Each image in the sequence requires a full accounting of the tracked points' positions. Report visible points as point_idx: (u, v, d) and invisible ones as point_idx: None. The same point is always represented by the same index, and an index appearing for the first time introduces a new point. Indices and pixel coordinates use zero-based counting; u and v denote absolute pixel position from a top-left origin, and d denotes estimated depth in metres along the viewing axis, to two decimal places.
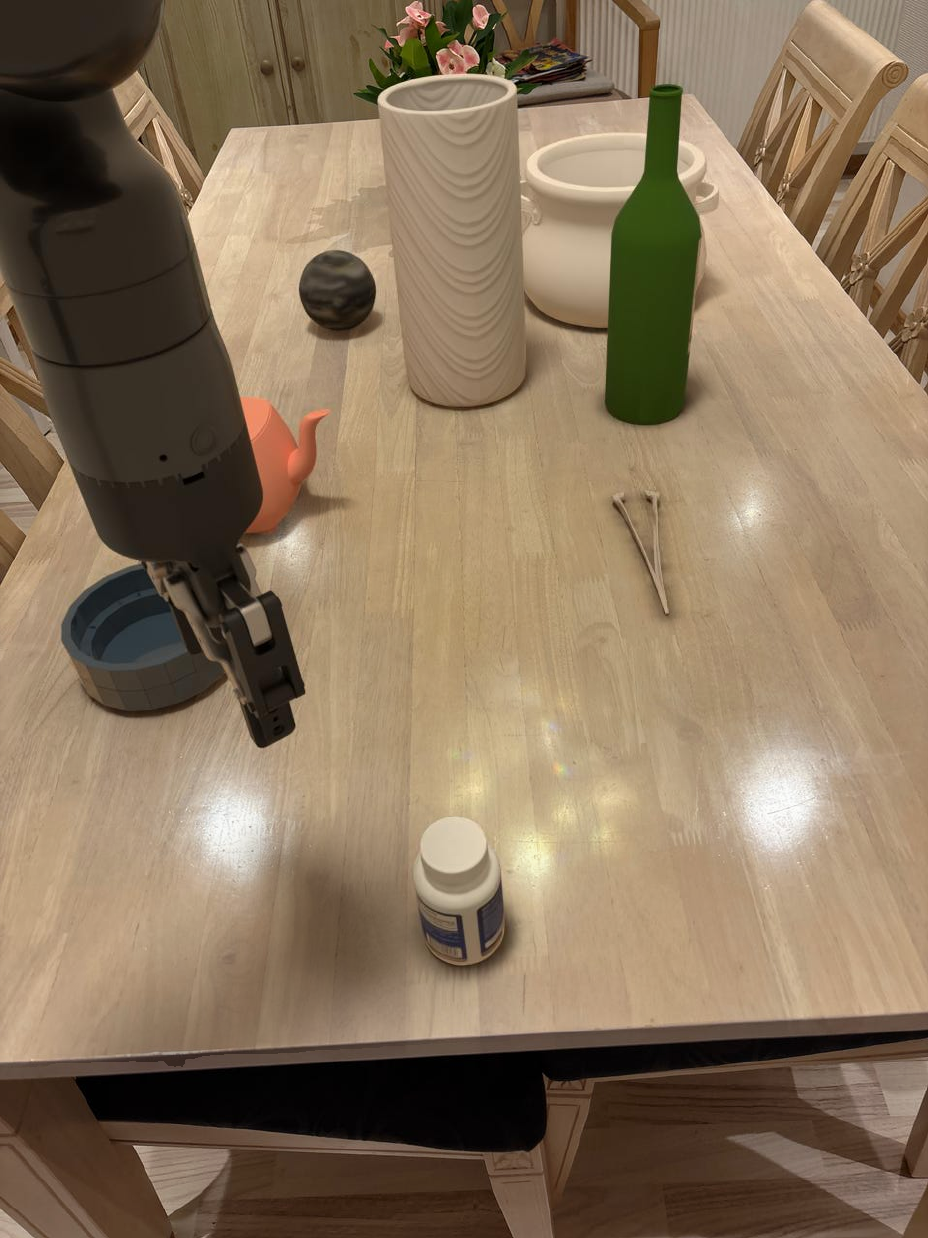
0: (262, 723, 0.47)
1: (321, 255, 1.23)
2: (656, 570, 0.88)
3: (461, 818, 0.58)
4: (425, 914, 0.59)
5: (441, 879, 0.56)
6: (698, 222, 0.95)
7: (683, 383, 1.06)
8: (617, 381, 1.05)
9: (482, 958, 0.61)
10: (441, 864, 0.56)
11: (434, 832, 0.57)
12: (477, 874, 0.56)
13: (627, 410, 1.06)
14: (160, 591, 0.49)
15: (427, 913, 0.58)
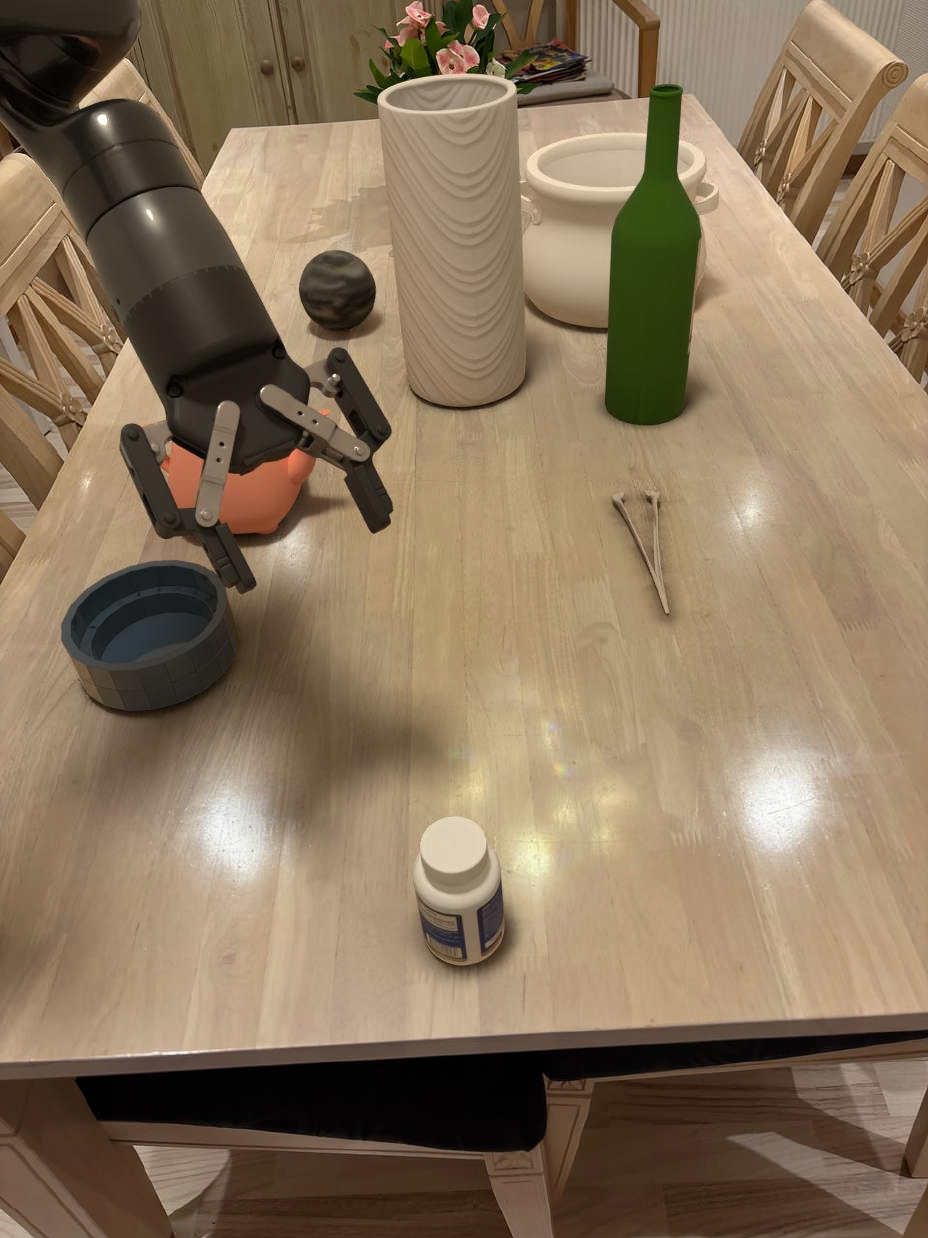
0: (381, 482, 0.56)
1: (321, 255, 1.23)
2: (656, 570, 0.88)
3: (461, 818, 0.58)
4: (425, 914, 0.59)
5: (441, 879, 0.56)
6: (698, 222, 0.95)
7: (683, 383, 1.06)
8: (617, 381, 1.05)
9: (482, 958, 0.61)
10: (441, 864, 0.56)
11: (434, 832, 0.57)
12: (477, 874, 0.56)
13: (627, 410, 1.06)
14: None
15: (427, 913, 0.58)
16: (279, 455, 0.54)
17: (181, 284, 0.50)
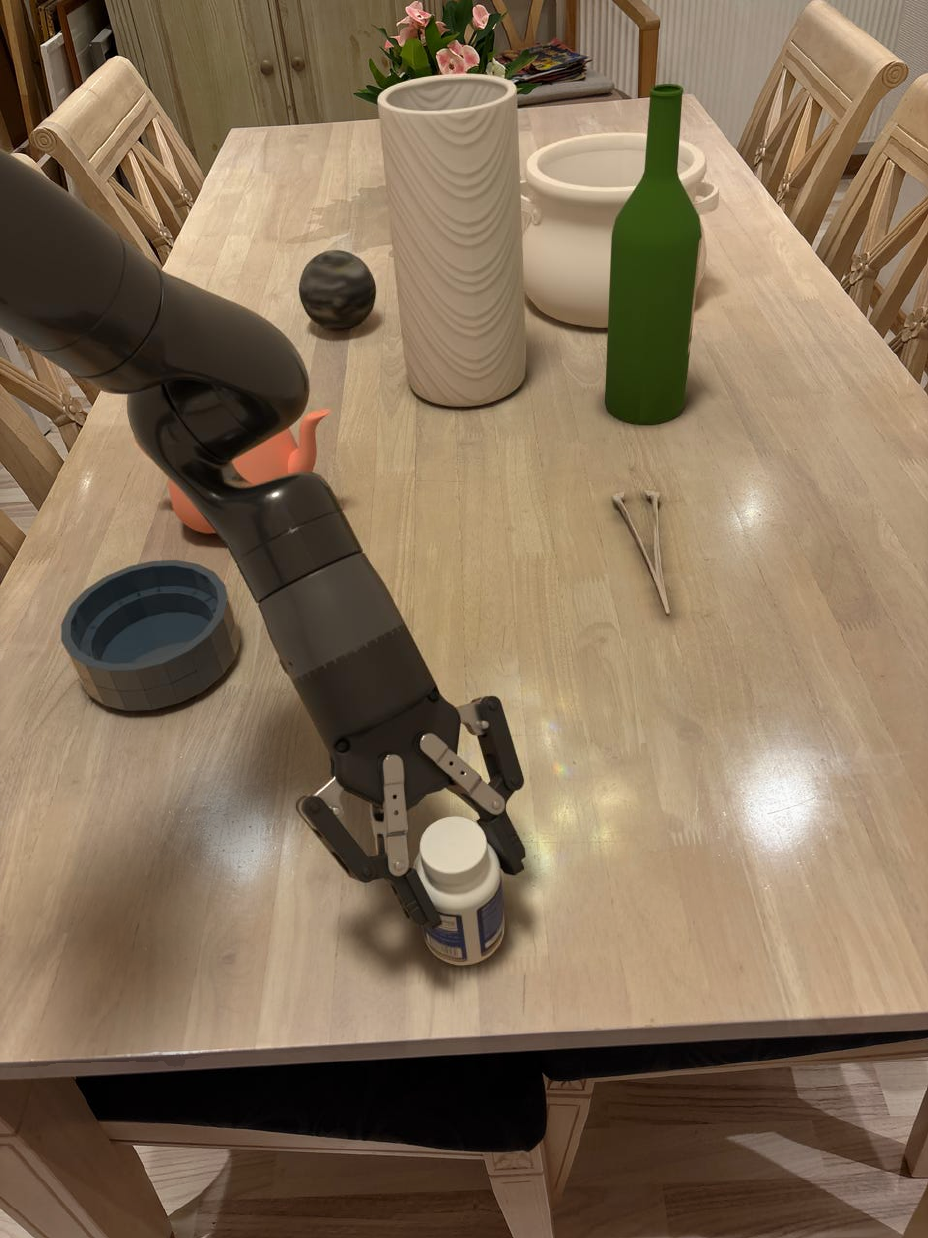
0: (514, 829, 0.59)
1: (321, 255, 1.23)
2: (657, 570, 0.88)
3: (461, 818, 0.58)
4: None
5: (441, 879, 0.56)
6: (698, 222, 0.95)
7: (684, 383, 1.06)
8: (617, 381, 1.05)
9: (482, 958, 0.61)
10: (440, 865, 0.56)
11: (434, 832, 0.57)
12: (477, 874, 0.56)
13: (627, 410, 1.06)
14: (407, 824, 0.56)
15: None
16: None
17: (354, 657, 0.54)
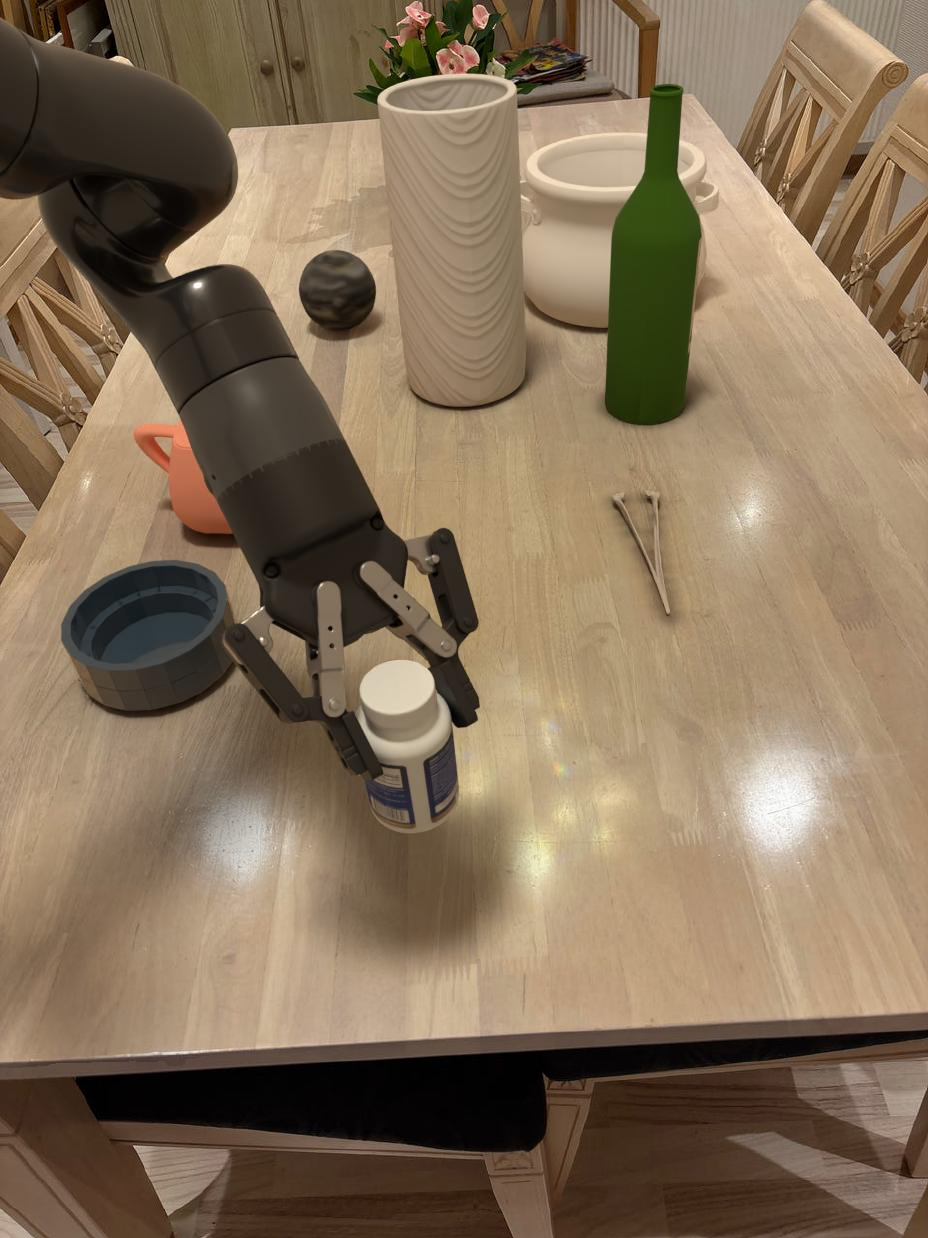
0: (467, 676, 0.53)
1: (321, 255, 1.23)
2: (657, 570, 0.88)
3: (407, 661, 0.52)
4: None
5: (382, 722, 0.50)
6: (698, 222, 0.95)
7: (684, 383, 1.06)
8: (617, 381, 1.05)
9: (433, 825, 0.55)
10: (381, 706, 0.50)
11: (376, 675, 0.51)
12: (423, 718, 0.50)
13: (627, 410, 1.06)
14: (343, 659, 0.50)
15: None
16: (376, 630, 0.52)
17: (283, 465, 0.48)
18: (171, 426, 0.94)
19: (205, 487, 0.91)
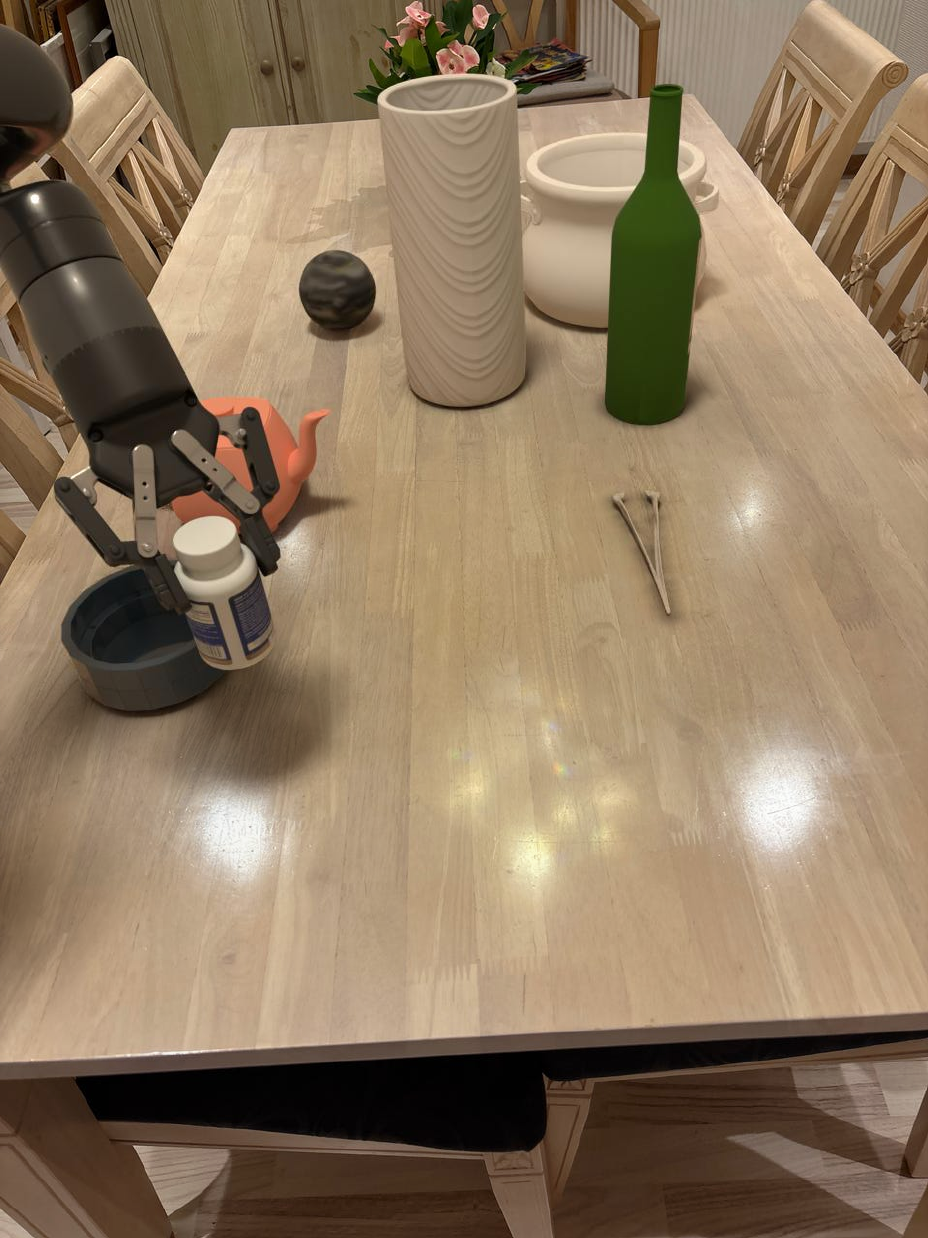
0: (270, 531, 0.63)
1: (321, 255, 1.23)
2: (657, 570, 0.88)
3: (217, 517, 0.62)
4: None
5: (189, 563, 0.60)
6: (698, 222, 0.95)
7: (684, 383, 1.06)
8: (617, 381, 1.05)
9: (248, 662, 0.65)
10: (188, 549, 0.60)
11: (189, 527, 0.61)
12: (224, 560, 0.60)
13: (627, 410, 1.06)
14: None
15: None
16: (191, 491, 0.62)
17: (99, 344, 0.58)
18: None
19: None
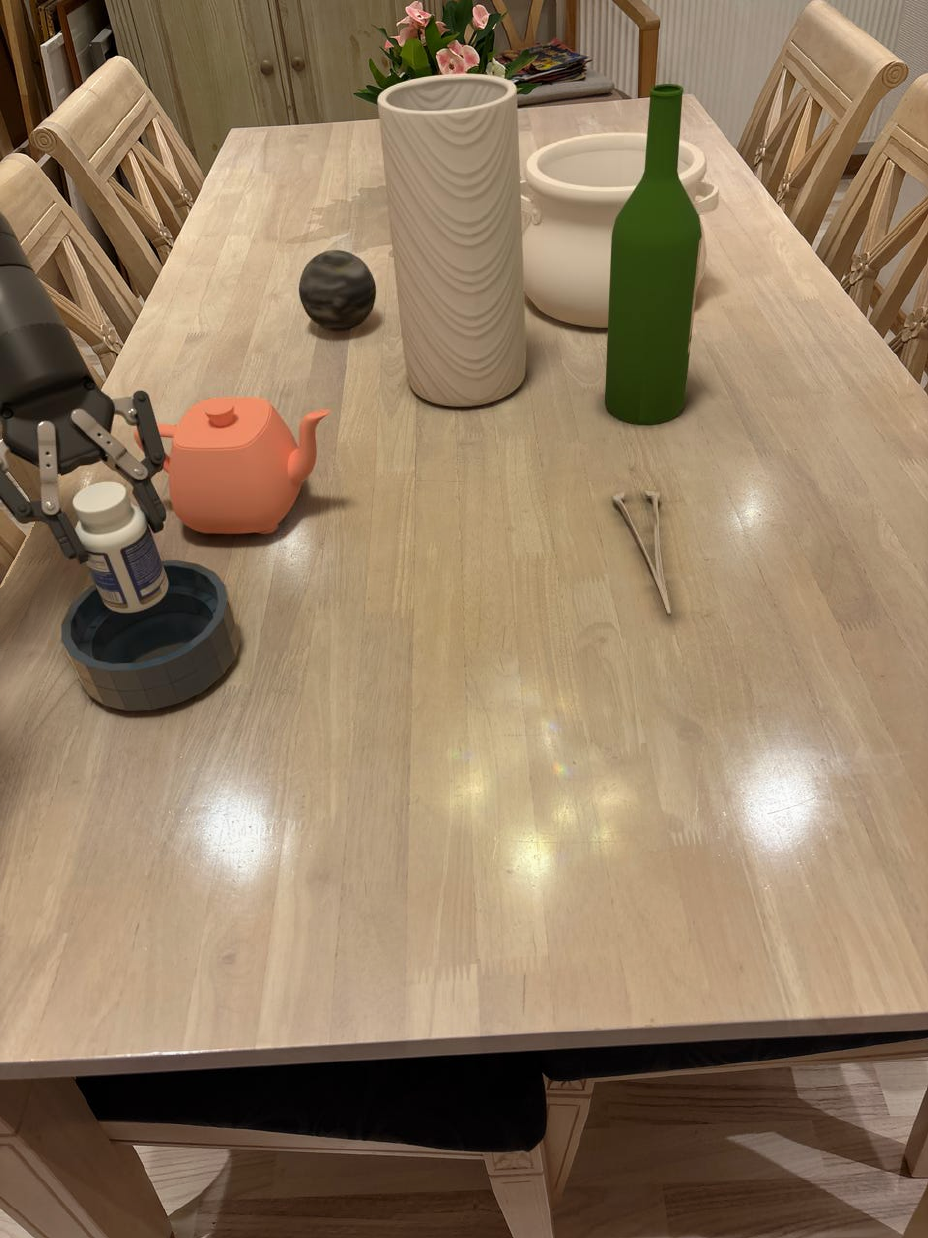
0: (157, 494, 0.75)
1: (321, 255, 1.23)
2: (658, 570, 0.88)
3: (111, 482, 0.74)
4: None
5: (86, 519, 0.72)
6: (698, 222, 0.95)
7: (684, 383, 1.06)
8: (617, 381, 1.05)
9: (142, 606, 0.77)
10: (84, 507, 0.72)
11: (87, 490, 0.73)
12: (115, 517, 0.72)
13: (627, 410, 1.06)
14: (57, 474, 0.71)
15: None
16: (89, 460, 0.74)
17: (8, 337, 0.70)
18: (171, 426, 0.94)
19: (205, 487, 0.91)
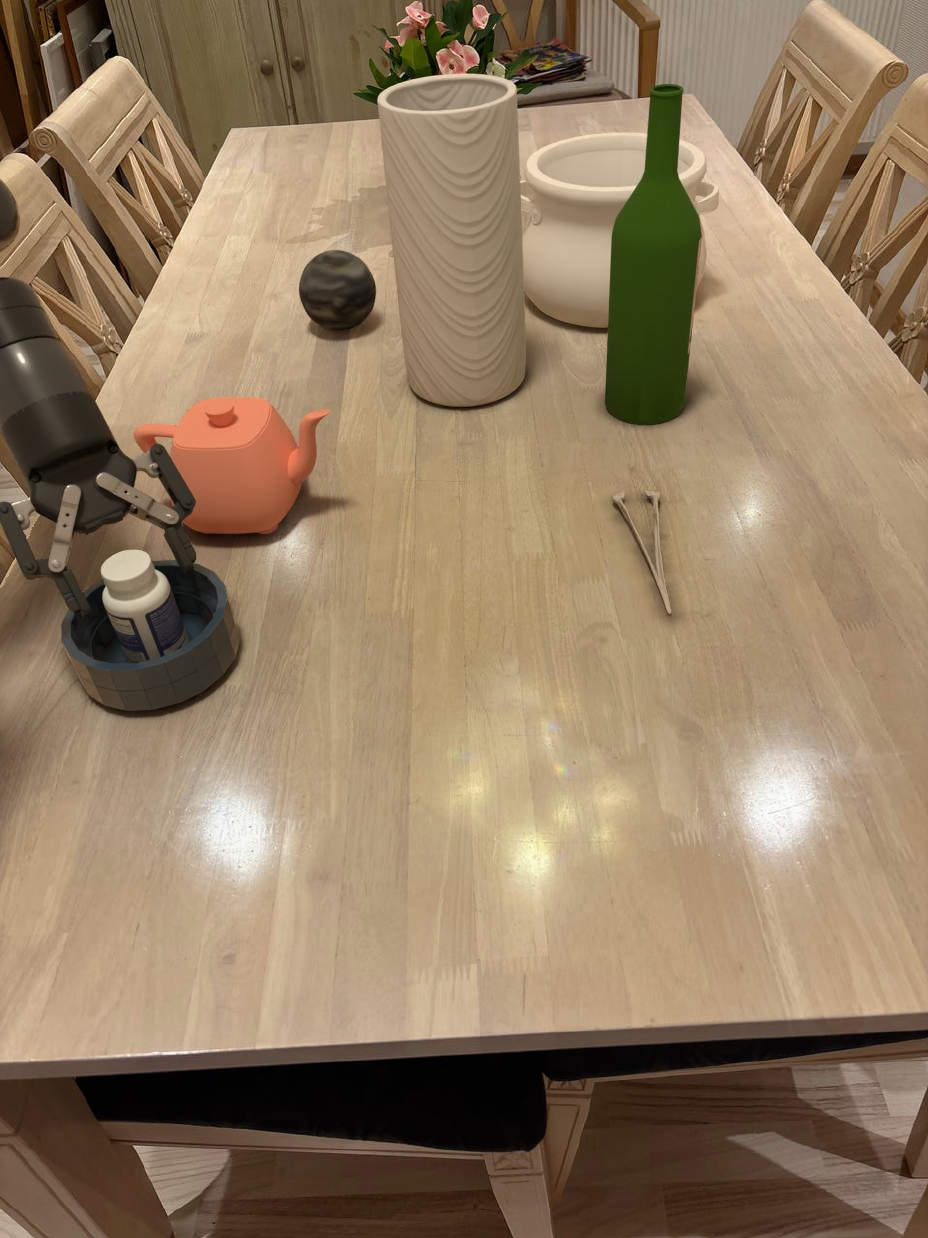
0: (188, 538, 0.79)
1: (321, 255, 1.23)
2: (658, 570, 0.88)
3: (136, 550, 0.78)
4: (113, 623, 0.79)
5: (113, 587, 0.76)
6: (698, 222, 0.95)
7: (684, 383, 1.06)
8: (617, 381, 1.05)
9: None
10: (112, 576, 0.76)
11: (114, 558, 0.78)
12: (141, 585, 0.77)
13: (627, 410, 1.06)
14: (71, 536, 0.75)
15: (112, 622, 0.79)
16: (113, 520, 0.78)
17: (37, 407, 0.73)
18: (171, 426, 0.94)
19: (205, 487, 0.91)
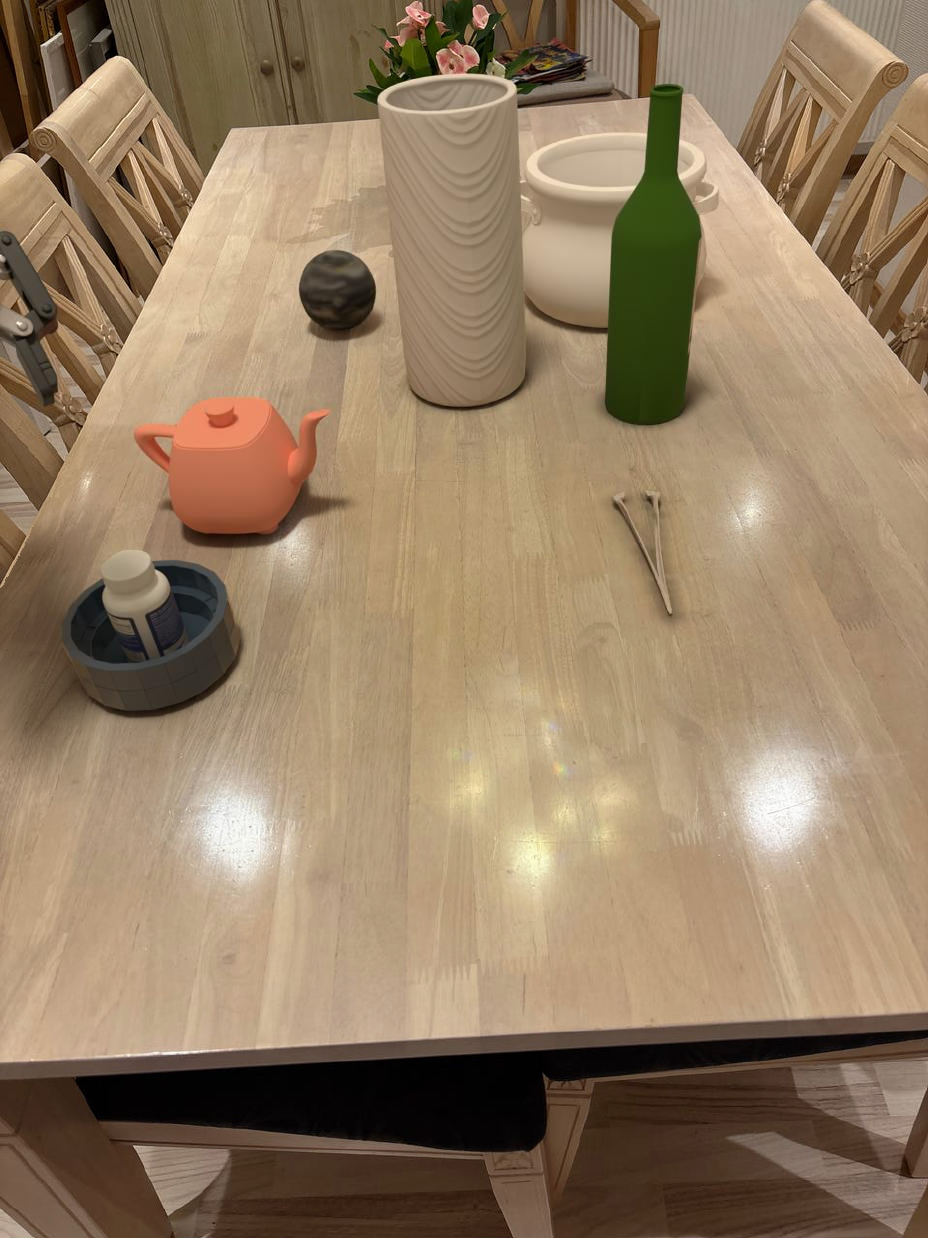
0: (46, 356, 0.60)
1: (321, 255, 1.23)
2: (658, 570, 0.88)
3: (136, 550, 0.78)
4: (113, 623, 0.79)
5: (113, 587, 0.76)
6: (698, 222, 0.95)
7: (684, 383, 1.06)
8: (617, 381, 1.05)
9: None
10: (112, 576, 0.76)
11: (114, 558, 0.78)
12: (141, 585, 0.77)
13: (627, 410, 1.06)
14: None
15: (112, 622, 0.79)
16: None
17: None
18: (171, 426, 0.94)
19: (205, 487, 0.91)
